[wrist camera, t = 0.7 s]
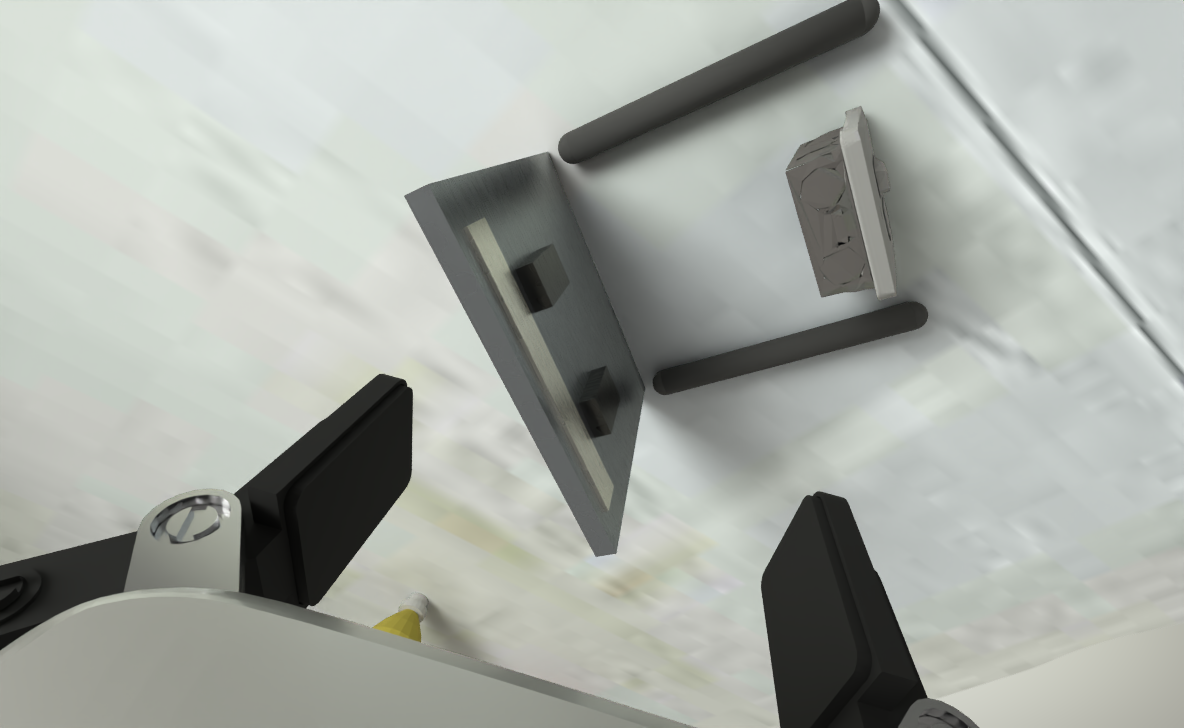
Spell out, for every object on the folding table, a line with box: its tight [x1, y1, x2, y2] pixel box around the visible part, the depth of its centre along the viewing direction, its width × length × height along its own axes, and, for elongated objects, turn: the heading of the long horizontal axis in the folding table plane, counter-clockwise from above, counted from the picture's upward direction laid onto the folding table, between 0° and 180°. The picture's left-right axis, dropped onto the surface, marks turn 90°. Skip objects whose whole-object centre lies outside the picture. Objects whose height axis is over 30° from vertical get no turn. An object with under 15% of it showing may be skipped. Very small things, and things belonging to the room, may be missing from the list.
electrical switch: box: [786, 106, 897, 301], centre depth 29 cm, size 9×5×9 cm, turn 24°
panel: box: [404, 152, 645, 557], centre depth 31 cm, size 5×20×18 cm, turn 22°
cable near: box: [558, 0, 880, 164], centre depth 31 cm, size 20×2×2 cm, turn 112°
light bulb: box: [372, 593, 428, 642], centre depth 57 cm, size 7×7×10 cm
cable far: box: [653, 302, 928, 395], centre depth 37 cm, size 20×2×2 cm, turn 112°
